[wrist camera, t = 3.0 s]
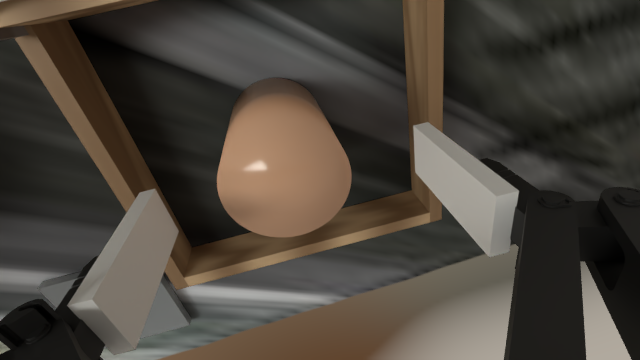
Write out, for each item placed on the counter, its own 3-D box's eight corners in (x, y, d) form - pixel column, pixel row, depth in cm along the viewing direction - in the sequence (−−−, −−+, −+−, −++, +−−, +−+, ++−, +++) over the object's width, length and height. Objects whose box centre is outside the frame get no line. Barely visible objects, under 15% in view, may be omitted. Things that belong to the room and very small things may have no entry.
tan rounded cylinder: (247, 172, 25) (242, 250, 17) (217, 90, 22) (194, 141, 14) (328, 152, 25) (359, 219, 18) (311, 67, 22) (340, 105, 14)
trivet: (101, 342, 31) (97, 350, 31) (43, 281, 27) (37, 288, 26) (191, 318, 32) (189, 325, 31) (149, 253, 27) (146, 260, 26)
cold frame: (185, 258, 28) (168, 317, 23) (38, 4, 18) (-52, 7, 13) (422, 196, 29) (457, 239, 24) (415, -79, 19) (474, -107, 14)
